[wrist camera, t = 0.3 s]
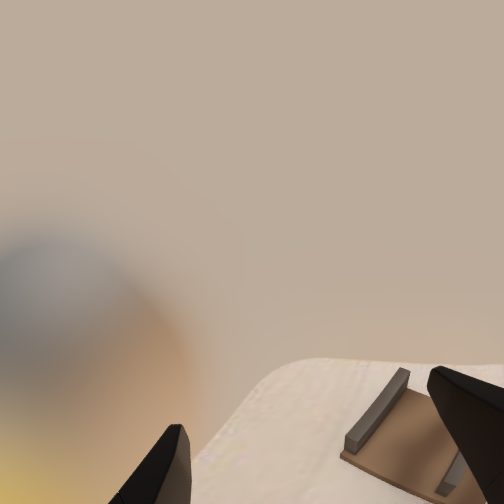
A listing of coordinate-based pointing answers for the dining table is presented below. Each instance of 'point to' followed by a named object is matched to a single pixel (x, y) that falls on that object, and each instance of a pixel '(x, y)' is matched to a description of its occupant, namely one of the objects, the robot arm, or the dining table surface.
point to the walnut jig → (411, 447)
